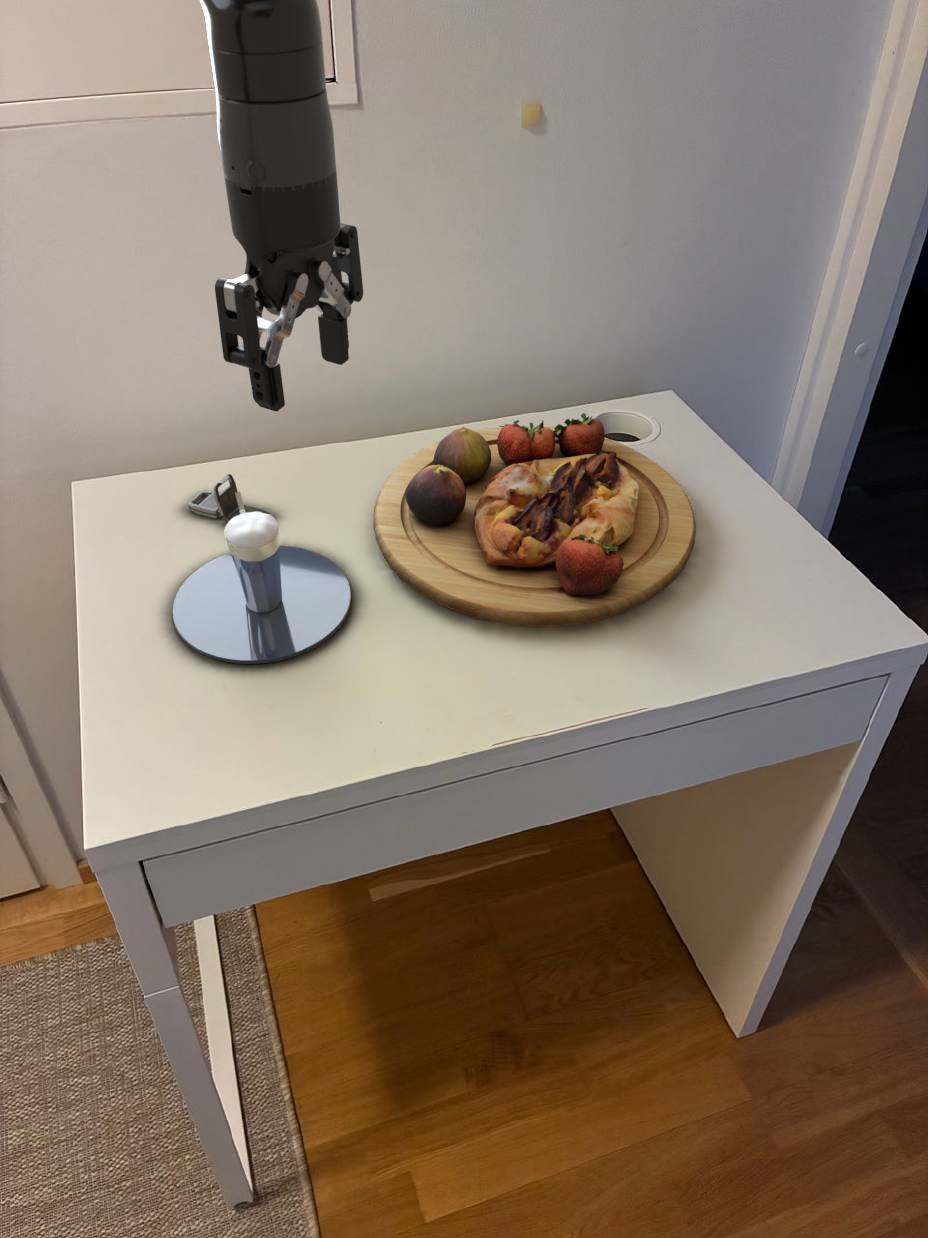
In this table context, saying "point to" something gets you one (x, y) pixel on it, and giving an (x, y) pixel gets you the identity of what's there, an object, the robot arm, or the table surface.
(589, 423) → the wooden plate
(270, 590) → the milkshake
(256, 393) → the robot arm
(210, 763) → the table surface
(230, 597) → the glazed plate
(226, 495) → the strap clip
